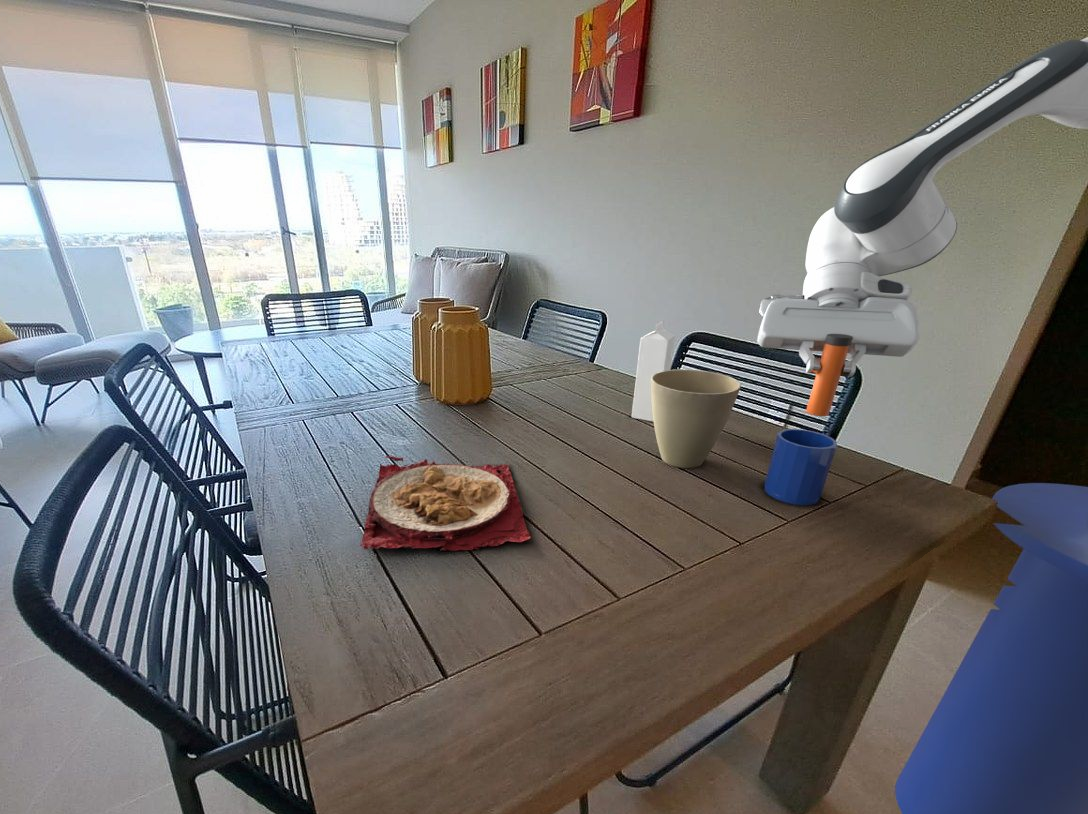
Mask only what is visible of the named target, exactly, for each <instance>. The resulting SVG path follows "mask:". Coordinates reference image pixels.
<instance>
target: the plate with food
mask: <svg viewBox="0 0 1088 814" xmlns="http://www.w3.org/2000/svg"><path fill="white" fill-rule="evenodd" d="M385 458H386V459H390V460H393V461H394V462H405V460H404V457H396V456H389V455H385ZM428 462H429V461H428V459H427V458H424V460H423V461H419V462H416V463H411V464H409V465H408V464H404V465H403V466H402V463H399V465H397V463H394V464H386V465H382V463H380V464H379V469H378V470H379V471H378V478H377V479H376V484H374V488H373V489H372V491H371V494H370V497H369V502H368V512H367V516H366V520H365V524H364V532H363V535H362V539H361V543H360V545H359V547H362V548H363V549H364V550H368V549H370V548H371V549H372V550H375V549H376V550H379V549H380V548H386V549H390V550H391V549H398V548H402V549H404V548H405V549H407V548H409V547H410V548H411V549H412V550H413V549H430V548H431V549H433V548H434V549H433V551H435V550H436V549H435V548H438V547H442V548H440V549H439V551H440V552H441V551H444V552H446V551H452V552H456V551H473V550H476V551H477V550H478V551H479V550H480V548H485V547H488V546H489V547H497V546H500V545H502V544H504V543H505V542H513V543H522V542H524V541H527V540H529V539H531V538H532V537H531V536H530V531H529V530H528V528H527V525H526V522H525V519H524V514H523V509H522V506H521V501H520V499H519V496H518V493H517V489H516V487H515V482H514V480H513V476H512V472H511V471H510V468H509V464H503V465H502V464H498V465H497V464H494V465H491V464H484V465H483V466H481V465H480V466H473V465H464V464H458V463H457V464H456V463H437V462H435V461H434V460H432V461H431V462H430V463H428ZM498 471H499V472H498Z"/></svg>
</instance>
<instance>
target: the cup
mask: <svg viewBox="0 0 1088 814" xmlns="http://www.w3.org/2000/svg"><path fill="white" fill-rule="evenodd" d="M837 446H838V442H837V441H836V440H835V439H834V438H833V437H831V436H828V435H827V434H824V433H821V432H817V431H813V430H808V429H801V428H786V429H782V430H779V431H778V432H777V435H776V438H775V443H774V447H773V450H772V455H771V458H770V462H769V466H768V469H767V474H766V477H765V482H764V486H763V489H764V491H765V493H766V494H768V495H769V496H770V497H772V498H773V499H776V500H778V501H780V502H782V503H786V504H791V505H795V506H813V505H815V504H817V503H819V501H820V499H821V497H822V494H823V491H824V487H825V485H826V482H827V479H828V474H829V471H830V468H831V467H832V463H833V459H834V455H835V453H836V449H837V448H838V447H837Z"/></svg>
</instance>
